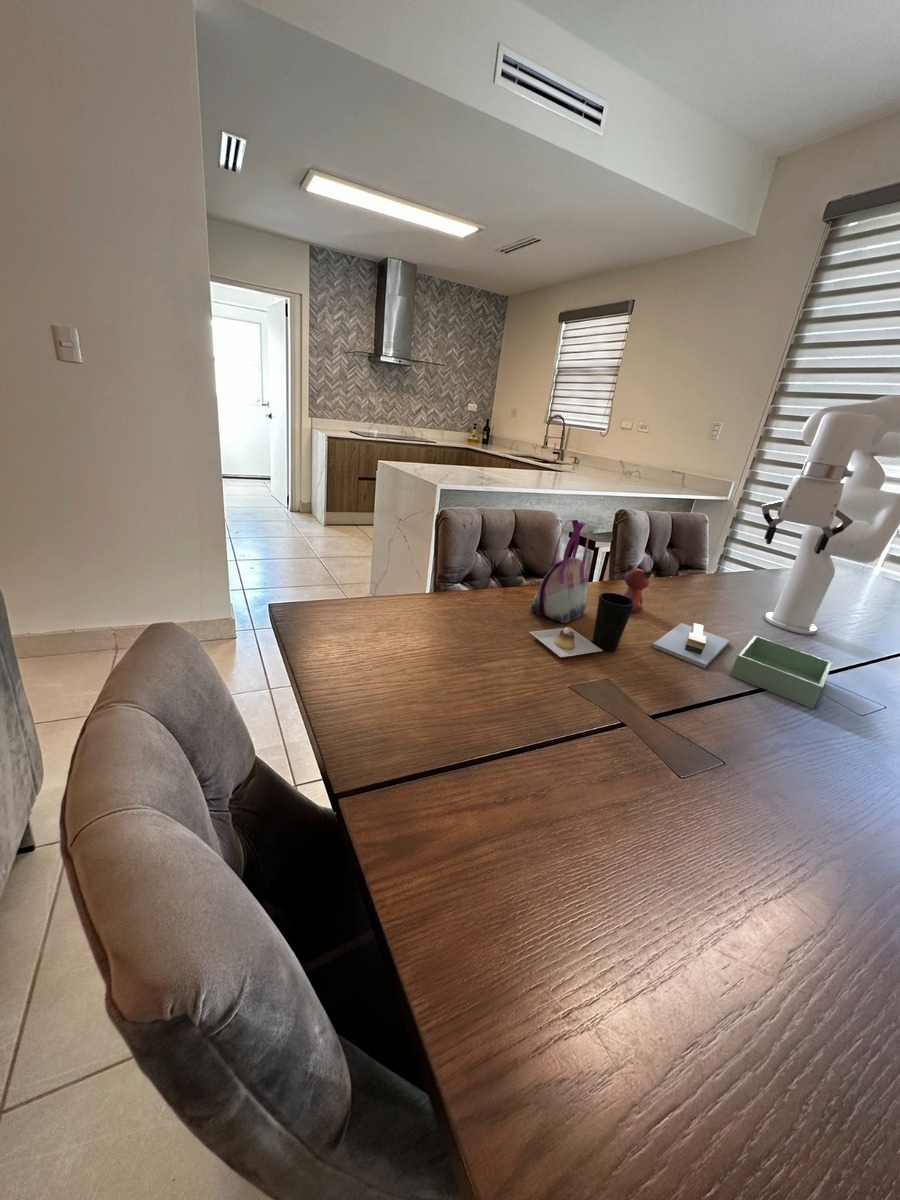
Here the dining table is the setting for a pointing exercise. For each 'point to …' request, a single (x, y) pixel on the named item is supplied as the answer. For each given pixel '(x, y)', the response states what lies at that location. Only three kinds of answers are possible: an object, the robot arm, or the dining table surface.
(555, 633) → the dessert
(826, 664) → the basket
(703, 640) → the brush
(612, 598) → the cup
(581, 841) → the dining table surface
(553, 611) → the handbag
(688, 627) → the mat
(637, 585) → the stuffed fox
